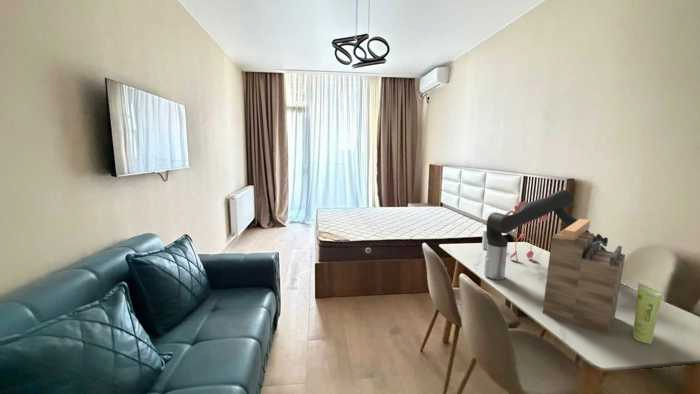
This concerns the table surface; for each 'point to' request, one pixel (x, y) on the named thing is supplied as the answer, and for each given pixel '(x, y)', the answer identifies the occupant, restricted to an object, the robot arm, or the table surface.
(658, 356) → the table surface
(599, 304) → the wooden knife block
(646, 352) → the table surface
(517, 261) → the figurine
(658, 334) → the table surface
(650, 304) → the tube
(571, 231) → the bar
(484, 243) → the supplement box
